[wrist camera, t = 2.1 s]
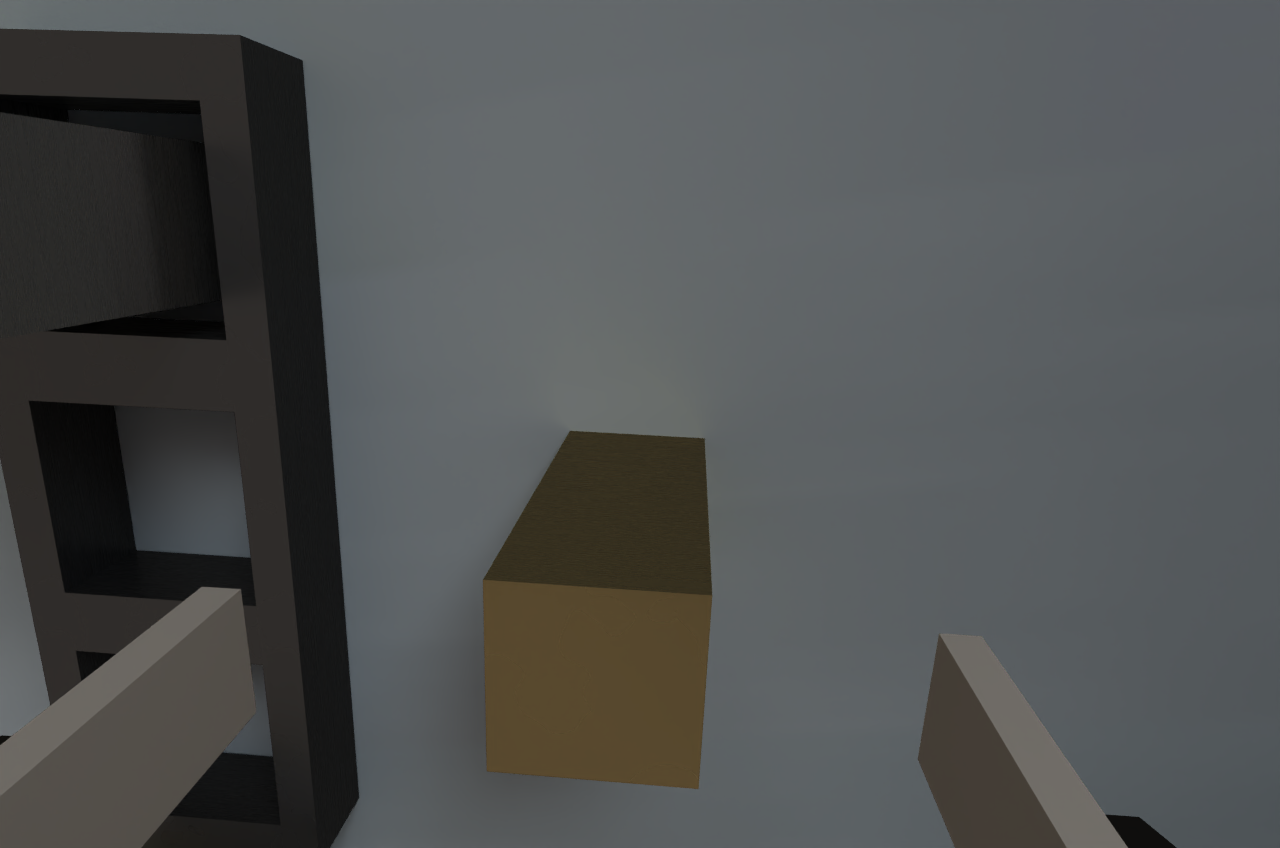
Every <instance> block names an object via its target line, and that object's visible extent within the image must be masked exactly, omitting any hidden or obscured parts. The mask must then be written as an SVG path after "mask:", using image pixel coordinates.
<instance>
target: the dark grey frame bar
mask: <svg viewBox="0 0 1280 848" xmlns="http://www.w3.org/2000/svg"><path fill="white" fill-rule="evenodd" d="M67 110H87V111H117V112H148V113H178V114H201V117H202V126H203V135H204V144H205V153H206V162H207V171H208V180H209V189H210V197H211V206H212V215H213V224H214V233H215V242H216V251H217V260H218V269H219V278H220V287H221V296H222V305H223V314H224V322H212V321H191V320H171V319H151V318H130V317H122V318H116V319H110V320H104V321H99V322H93V323H87V324H82V325H76V326H70V327H64V328H59V329H53V330H47V331H42V332H36V333H30V334H24V335H19V336H13V337H7V338H2V339H0V459H1V464H2V469H3V474H4V479H5V484H6V488H7V493H8V498H9V503H10V508H11V513H12V518H13V523H14V528H15V533H16V538H17V543H18V548H19V553H20V558H21V562H22V567H23V572H24V577H25V582H26V587H27V592H28V597H29V602H30V607H31V612H32V617H33V622H34V627H35V632H36V636H37V641H38V646H39V651H40V656H41V661H42V666H43V671H44V676H45V681H46V686H47V691H48V696H49V701H50V706H51V705H52V704H53V703H55V702H56V701H57V700H58V699H60V698H61V697H62V696H64V695H65V694H66V693H67V692H69V691H70V690H71V689H72V688H74V687H75V686H76V685H78V684H79V683H80V682H81V681H83V680H84V679H85V678H86V677H88V676H89V675H90V674H92V673H93V672H94V671H95V670H97V669H98V668H99V667H100V666H102V665H103V664H104V663H105V662H107V661H108V660H109V659H111V658H112V657H113V656H114V655H116V654H117V653H118V652H119V651H121V650H122V649H123V648H125V647H126V646H127V645H128V644H130V643H131V642H132V641H133V640H135V639H136V638H137V637H139V636H140V635H141V634H142V633H144V632H145V631H146V630H147V629H149V628H150V627H151V626H153V625H154V624H155V623H156V622H158V621H159V620H160V619H161V618H163V617H164V616H165V615H167V614H168V613H169V612H170V611H172V610H173V609H174V608H175V607H177V606H178V605H179V604H181V603H182V602H183V601H184V600H186V599H187V598H188V597H189V596H191V595H192V594H193V593H195V592H196V591H197V590H198V589H200V588H201V587H214V588H230V589H241V594H242V602H243V610H244V618H245V626H246V633H247V641H248V649H249V657H250V664H258V665H263V671H264V680H265V689H266V698H267V707H268V716H269V724H270V733H271V742H272V751H273V757H268V756H256V755H244V754H232V753H221V754H220V755H219V757H218V758H217V759H216V760H215V761H214V763H213V764H212V765H211V766H210V767H209V768H208V770H207V771H206V772H205V773H204V774H203V775H202V777H201V778H200V779H199V780H198V781H197V783H196V784H195V785H194V786H193V787H192V788H191V790H190V791H189V792H188V793H187V794H186V796H185V797H184V798H183V799H182V800H181V801H180V803H179V804H178V805H177V806H176V807H175V808H174V810H173V811H172V812H171V813H170V814H169V816H168V817H167V818H166V819H165V820H164V821H163V823H162V824H161V825H160V826H159V827H158V829H157V830H156V831H155V832H154V833H153V834H152V836H151V837H150V838H149V839H148V840H147V841H146V843H145V844H144V845H143V846H142V847H141V848H330V847H331V845H332V844H333V842H334V840H335V838H336V837H337V835H338V833H339V831H340V830H341V828H342V826H343V825H344V823H345V821H346V819H347V818H348V816H349V814H350V812H351V811H352V809H353V807H354V805H355V804H356V802H357V800H358V799H359V792H358V779H357V766H356V753H355V740H354V727H353V713H352V700H351V687H350V674H349V661H348V648H347V635H346V622H345V609H344V596H343V583H342V570H341V557H340V544H339V531H338V518H337V505H336V491H335V478H334V465H333V452H332V439H331V426H330V413H329V400H328V387H327V374H326V361H325V348H324V335H323V322H322V309H321V296H320V283H319V270H318V256H317V243H316V230H315V217H314V204H313V191H312V178H311V165H310V152H309V139H308V126H307V113H306V100H305V87H304V74H303V61H302V60H300V59H298V58H295V57H293V56H290V55H288V54H285V53H283V52H281V51H278V50H276V49H273V48H271V47H268V46H266V45H263V44H261V43H258V42H256V41H253V40H251V39H248V38H246V37H243V36H241V35H217V34H179V33H142V32H104V31H66V30H29V29H0V112H2V113H9V114H15V115H22V116H28V117H35V118H41V119H48V120H55V121H61V122H68V123H69V121H68V114H67ZM113 405H117V406H135V407H153V408H171V409H189V410H207V411H225V412H235V421H236V430H237V439H238V448H239V456H240V465H241V474H242V483H243V492H244V501H245V510H246V519H247V528H248V537H249V546H250V555H251V558H243V557H229V556H214V555H199V554H184V553H169V552H154V551H139V550H136V548H135V541H134V535H133V529H132V522H131V516H130V510H129V503H128V497H127V490H126V484H125V478H124V471H123V465H122V459H121V452H120V446H119V439H118V433H117V427H116V420H115V414H114V408H113Z"/></svg>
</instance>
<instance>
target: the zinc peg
mask: <svg viewBox="0 0 1280 848" xmlns="http://www.w3.org/2000/svg"><path fill="white" fill-rule="evenodd" d="M219 300H222V296H221V287H220V278H219V269H218V260H217V251H216V242H215V233H214V224H213V215H212V206H211V197H210V189H209V180H208V171H207V162H206V153H205V144H204V143H199V142H193V141H186V140H179V139H173V138H166V137H160V136H153V135H147V134H140V133H133V132H127V131H120V130H114V129H107V128H101V127H94V126H87V125H81V124H74V123H68V122H61V121H55V120H48V119H41V118H35V117H28V116H22V115H15V114H9V113H2V112H0V339H2V338H7V337H13V336H19V335H24V334H30V333H36V332H42V331H47V330H53V329H59V328H64V327H70V326H76V325H82V324H87V323H93V322H99V321H104V320H110V319H116V318H122V317H127V316H133V315H139V314H144V313H150V312H156V311H161V310H167V309H173V308H179V307H184V306H190V305H196V304H201V303H207V302H213V301H219Z"/></svg>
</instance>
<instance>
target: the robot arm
mask: <svg viewBox="0 0 1280 848" xmlns="http://www.w3.org/2000/svg"><path fill="white" fill-rule="evenodd" d="M255 713H256V704H255V696H254V689H253V681H252V673H251V665H250V657H249V649H248V641H247V633H246V626H245V618H244V610H243V602H242V594H241V589H230V588H214V587H201V588H200V589H198V590H197V591H196V592H195V593H193V594H192V595H191V596H189V597H188V598H187V599H186V600H184V601H183V602H182V603H181V604H179V605H178V606H177V607H175V608H174V609H173V610H172V611H170V612H169V613H168V614H167V615H165V616H164V617H163V618H161V619H160V620H159V621H158V622H156V623H155V624H154V625H153V626H151V627H150V628H149V629H147V630H146V631H145V632H144V633H142V634H141V635H140V636H139V637H137V638H136V639H135V640H133V641H132V642H131V643H130V644H128V645H127V646H126V647H125V648H123V649H122V650H121V651H119V652H118V653H117V654H116V655H114V656H113V657H112V658H111V659H109V660H108V661H107V662H105V663H104V664H103V665H102V666H100V667H99V668H98V669H97V670H95V671H94V672H93V673H92V674H90V675H89V676H88V677H86V678H85V679H84V680H83V681H81V682H80V683H79V684H78V685H76V686H75V687H74V688H72V689H71V690H70V691H69V692H67V693H66V694H65V695H64V696H62V697H61V698H60V699H58V700H57V701H56V702H55V703H53V704H52V705H51V706H50V707H48V708H47V709H46V710H44V711H43V712H42V713H41V714H39V715H38V716H37V717H36V718H34V719H33V720H32V721H30V722H29V723H28V724H27V725H25V726H24V727H23V728H22V729H20V730H19V731H18V732H16V733H15V734H14V735H13V736H0V848H141V847H142V846H143V845H144V844H145V843H146V841H147V840H148V839H149V838H150V837H151V836H152V834H153V833H154V832H155V831H156V830H157V829H158V827H159V826H160V825H161V824H162V823H163V821H164V820H165V819H166V818H167V817H168V816H169V814H170V813H171V812H172V811H173V810H174V808H175V807H176V806H177V805H178V804H179V803H180V801H181V800H182V799H183V798H184V797H185V796H186V794H187V793H188V792H189V791H190V790H191V788H192V787H193V786H194V785H195V784H196V783H197V781H198V780H199V779H200V778H201V777H202V775H203V774H204V773H205V772H206V771H207V770H208V768H209V767H210V766H211V765H212V764H213V763H214V761H215V760H216V759H217V758H218V757H219V755H220V754H221V753H222V752H223V751H224V750H225V748H226V747H227V746H228V745H229V744H230V743H231V741H232V740H233V739H234V738H235V737H236V735H237V734H238V733H239V732H240V731H241V730H242V728H243V727H244V726H245V725H246V724H247V722H248V721H249V720H250V719H251V718H252V717H253V715H254V714H255ZM918 761H919V763H920V765H921V768H922V770H923V773H924V775H925V777H926V780H927V782H928V784H929V787H930V789H931V792H932V794H933V796H934V799H935V801H936V803H937V806H938V808H939V811H940V813H941V815H942V818H943V820H944V822H945V825H946V827H947V830H948V832H949V834H950V837H951V839H952V841H953V844H954V846H955V848H1176V847H1175V846H1174V845H1173V844H1171V843H1170V842H1169V841H1168V840H1167V839H1165V838H1164V837H1163V836H1162V835H1160V834H1159V833H1158V832H1157V831H1156V830H1154V829H1153V828H1152V827H1151V826H1149V825H1148V824H1147V823H1146V822H1145V821H1143V820H1142V819H1141V818H1140V817H1131V816H1118V815H1105V814H1104V812H1103V811H1102V810H1101V808H1100V807H1099V805H1098V804H1097V802H1096V801H1095V799H1094V798H1093V796H1092V795H1091V794H1090V792H1089V791H1088V789H1087V788H1086V786H1085V785H1084V783H1083V782H1082V781H1081V779H1080V778H1079V776H1078V775H1077V773H1076V772H1075V770H1074V769H1073V768H1072V766H1071V765H1070V763H1069V762H1068V760H1067V759H1066V757H1065V756H1064V755H1063V753H1062V752H1061V750H1060V749H1059V747H1058V746H1057V744H1056V743H1055V741H1054V740H1053V739H1052V737H1051V736H1050V734H1049V733H1048V731H1047V730H1046V728H1045V727H1044V726H1043V724H1042V723H1041V721H1040V720H1039V718H1038V717H1037V715H1036V714H1035V713H1034V711H1033V710H1032V708H1031V707H1030V705H1029V704H1028V702H1027V701H1026V700H1025V698H1024V697H1023V695H1022V694H1021V692H1020V691H1019V689H1018V688H1017V687H1016V685H1015V684H1014V682H1013V681H1012V679H1011V678H1010V676H1009V675H1008V673H1007V672H1006V671H1005V669H1004V668H1003V666H1002V665H1001V663H1000V662H999V660H998V659H997V658H996V656H995V655H994V653H993V652H992V650H991V649H990V647H989V646H988V645H987V643H986V642H985V640H984V639H983V637H982V636H970V635H954V634H939V637H938V643H937V649H936V655H935V661H934V667H933V673H932V678H931V684H930V690H929V696H928V702H927V708H926V714H925V719H924V725H923V731H922V737H921V743H920V749H919V755H918Z"/></svg>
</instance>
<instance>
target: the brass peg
mask: <svg viewBox="0 0 1280 848" xmlns="http://www.w3.org/2000/svg"><path fill="white" fill-rule="evenodd" d="M483 603H484V653H485V703H486V752H487V771H489V772H501V773H513V774H525V775H537V776H549V777H561V778H573V779H585V780H597V781H609V782H621V783H633V784H645V785H657V786H669V787H681V788H693V789H698V787H699V773H700V759H701V745H702V731H703V717H704V703H705V689H706V675H707V661H708V647H709V633H710V619H711V605H712V582H711V561H710V541H709V520H708V499H707V479H706V458H705V438H687V437H669V436H651V435H634V434H616V433H598V432H580V431H570V432H569V434H568V435H567V437H566V439H565V440H564V442H563V444H562V446H561V447H560V449H559V451H558V452H557V454H556V456H555V458H554V459H553V461H552V463H551V464H550V466H549V468H548V470H547V471H546V473H545V475H544V476H543V478H542V480H541V481H540V483H539V485H538V487H537V488H536V490H535V492H534V493H533V495H532V497H531V499H530V500H529V502H528V504H527V505H526V507H525V509H524V511H523V512H522V514H521V516H520V517H519V519H518V521H517V523H516V524H515V526H514V528H513V529H512V531H511V533H510V535H509V536H508V538H507V540H506V541H505V543H504V545H503V547H502V548H501V550H500V552H499V553H498V555H497V557H496V558H495V560H494V562H493V564H492V565H491V567H490V569H489V570H488V572H487V574H486V576H485V577H484V579H483Z"/></svg>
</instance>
